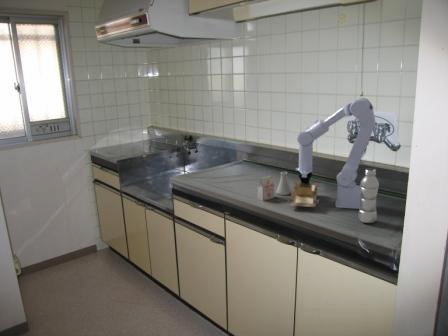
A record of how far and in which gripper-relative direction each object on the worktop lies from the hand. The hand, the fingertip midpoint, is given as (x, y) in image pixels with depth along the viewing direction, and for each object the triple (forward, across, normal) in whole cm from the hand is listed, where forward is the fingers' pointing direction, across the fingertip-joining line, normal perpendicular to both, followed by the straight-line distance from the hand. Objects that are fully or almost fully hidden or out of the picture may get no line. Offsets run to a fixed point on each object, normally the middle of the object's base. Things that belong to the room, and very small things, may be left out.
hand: (304, 189), depth 166 cm
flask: (+5, -7, -10) cm, 13 cm away
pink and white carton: (+5, +2, -17) cm, 18 cm away
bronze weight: (+1, +4, 0) cm, 4 cm away
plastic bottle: (+5, +22, +24) cm, 33 cm away
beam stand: (+5, +4, 0) cm, 6 cm away
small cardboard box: (+2, +4, 0) cm, 4 cm away
